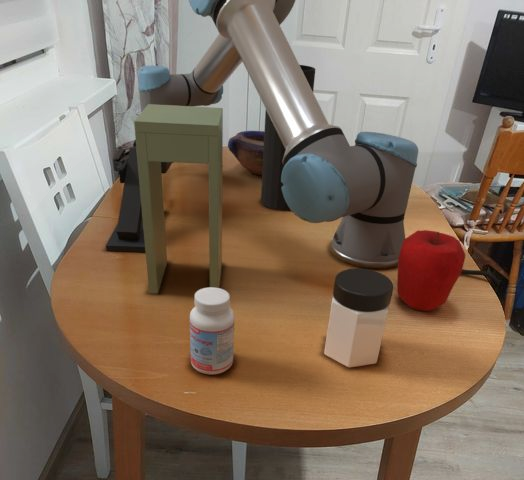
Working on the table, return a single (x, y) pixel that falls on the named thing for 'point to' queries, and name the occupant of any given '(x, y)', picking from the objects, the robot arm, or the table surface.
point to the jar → (358, 316)
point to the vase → (276, 158)
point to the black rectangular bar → (130, 202)
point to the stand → (182, 151)
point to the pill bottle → (211, 331)
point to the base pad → (126, 242)
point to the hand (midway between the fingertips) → (133, 177)
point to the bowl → (248, 150)
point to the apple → (428, 269)
